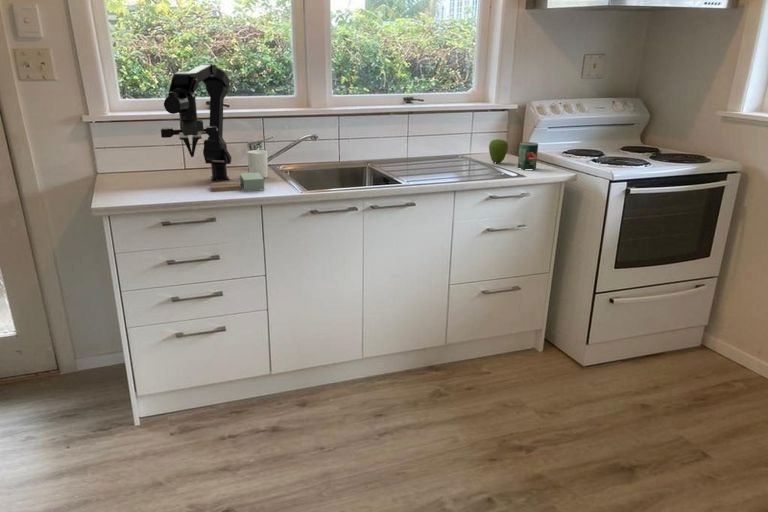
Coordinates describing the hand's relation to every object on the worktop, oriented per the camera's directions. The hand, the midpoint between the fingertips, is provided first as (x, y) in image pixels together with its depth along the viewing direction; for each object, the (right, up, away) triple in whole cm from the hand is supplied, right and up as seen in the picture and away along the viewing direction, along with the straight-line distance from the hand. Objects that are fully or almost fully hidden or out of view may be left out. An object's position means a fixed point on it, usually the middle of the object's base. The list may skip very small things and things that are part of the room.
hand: (192, 156), depth 205 cm
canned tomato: (+130, +3, +51) cm, 140 cm away
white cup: (+17, -3, +28) cm, 33 cm away
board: (+10, -11, +7) cm, 16 cm away
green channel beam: (+19, -9, +10) cm, 23 cm away
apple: (+119, +7, +63) cm, 135 cm away
